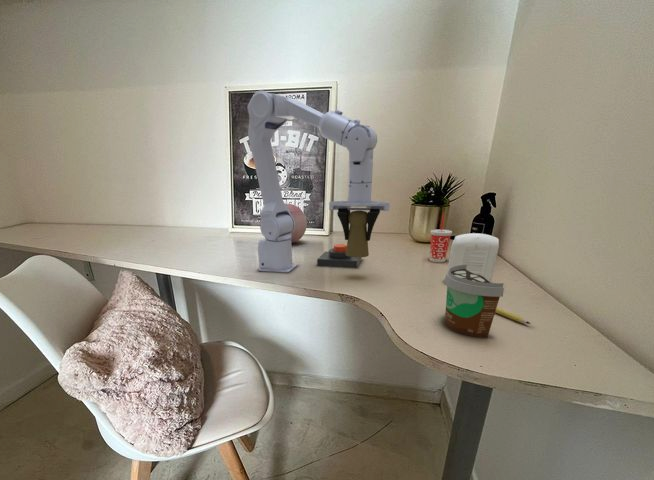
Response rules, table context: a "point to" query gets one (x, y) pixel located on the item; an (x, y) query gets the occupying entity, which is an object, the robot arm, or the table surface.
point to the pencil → (511, 316)
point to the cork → (357, 235)
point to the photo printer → (475, 253)
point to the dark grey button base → (337, 260)
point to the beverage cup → (439, 244)
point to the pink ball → (297, 222)
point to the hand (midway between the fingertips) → (357, 239)
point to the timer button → (340, 248)
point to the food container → (470, 302)
